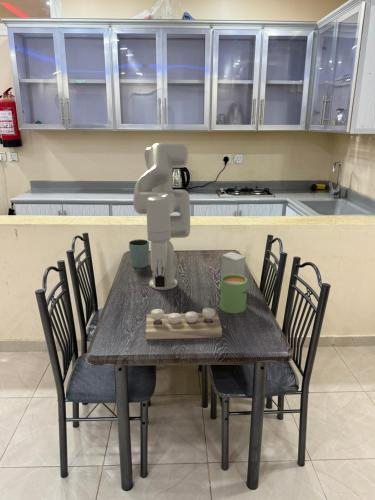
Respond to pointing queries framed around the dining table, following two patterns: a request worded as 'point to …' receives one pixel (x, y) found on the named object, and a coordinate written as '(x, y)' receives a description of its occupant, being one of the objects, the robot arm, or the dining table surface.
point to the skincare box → (232, 264)
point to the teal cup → (139, 253)
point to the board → (183, 328)
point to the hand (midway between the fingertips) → (160, 286)
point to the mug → (233, 293)
